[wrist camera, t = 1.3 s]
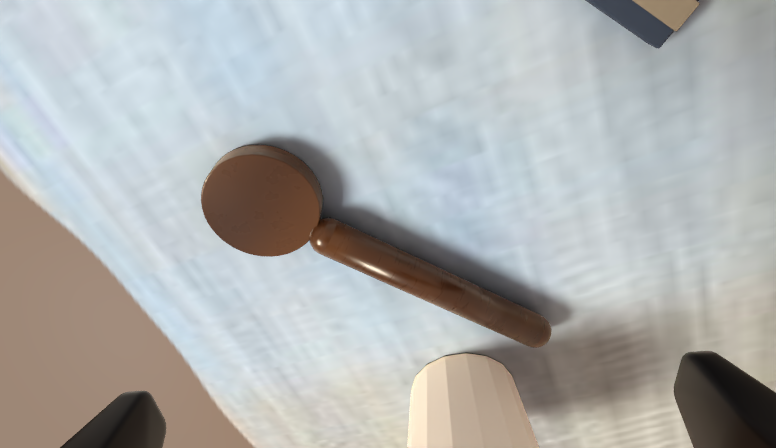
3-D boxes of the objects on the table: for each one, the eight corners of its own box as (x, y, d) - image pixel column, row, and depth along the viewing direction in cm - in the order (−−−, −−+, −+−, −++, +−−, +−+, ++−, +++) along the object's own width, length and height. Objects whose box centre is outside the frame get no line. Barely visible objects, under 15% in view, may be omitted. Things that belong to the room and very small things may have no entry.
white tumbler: (517, 427, 29) (549, 559, 23) (400, 428, 29) (402, 559, 23) (533, 344, 26) (576, 475, 20) (399, 345, 26) (402, 476, 20)
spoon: (574, 292, 24) (585, 315, 22) (513, 354, 26) (520, 378, 25) (231, 123, 19) (219, 139, 18) (193, 215, 22) (180, 235, 20)
